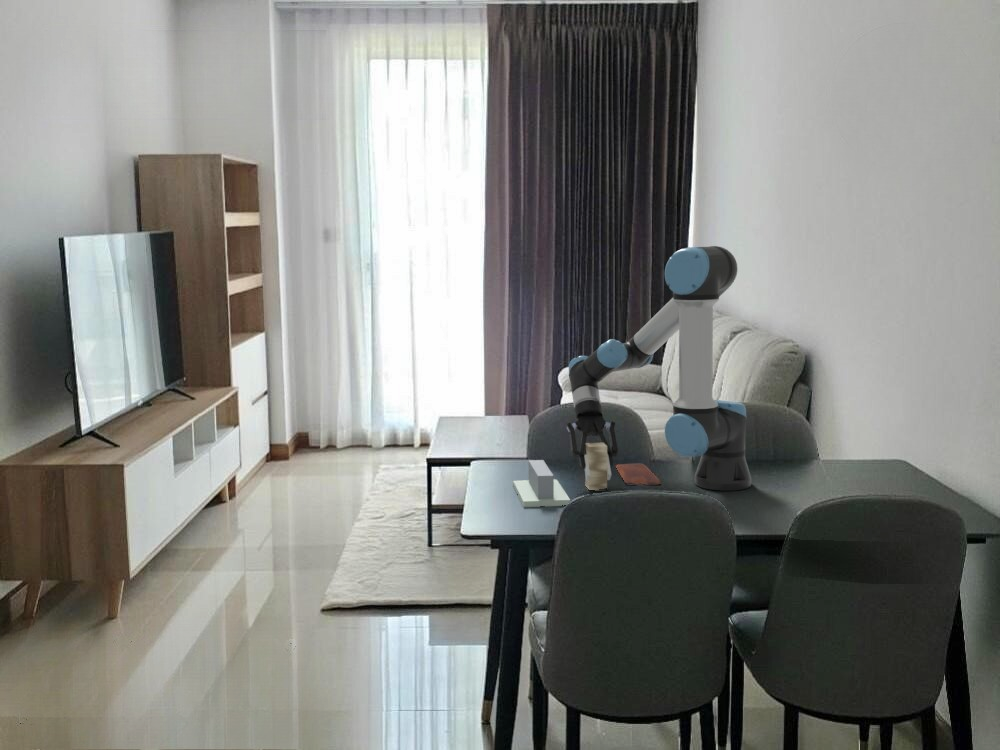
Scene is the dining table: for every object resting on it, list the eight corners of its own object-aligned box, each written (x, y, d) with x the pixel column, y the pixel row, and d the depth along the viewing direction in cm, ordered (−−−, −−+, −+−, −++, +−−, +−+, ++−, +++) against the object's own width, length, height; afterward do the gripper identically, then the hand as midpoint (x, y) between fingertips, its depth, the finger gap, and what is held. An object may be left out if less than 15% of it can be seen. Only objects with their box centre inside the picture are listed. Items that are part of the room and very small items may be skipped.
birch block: (603, 485, 299) (603, 442, 298) (607, 490, 294) (607, 446, 293) (585, 486, 299) (585, 442, 297) (588, 490, 294) (588, 446, 292)
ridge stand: (513, 486, 299) (512, 459, 298) (556, 484, 301) (556, 457, 300) (523, 507, 278) (523, 478, 277) (570, 505, 279) (570, 476, 278)
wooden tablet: (662, 487, 299) (662, 481, 299) (625, 488, 299) (625, 482, 299) (646, 465, 325) (646, 459, 325) (612, 465, 325) (612, 460, 325)
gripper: (617, 413, 310) (629, 483, 296) (554, 414, 308) (563, 486, 294) (621, 397, 304) (634, 469, 290) (557, 399, 302) (567, 471, 288)
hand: (598, 477), depth 292 cm, fingers closed on birch block, 5 cm apart
